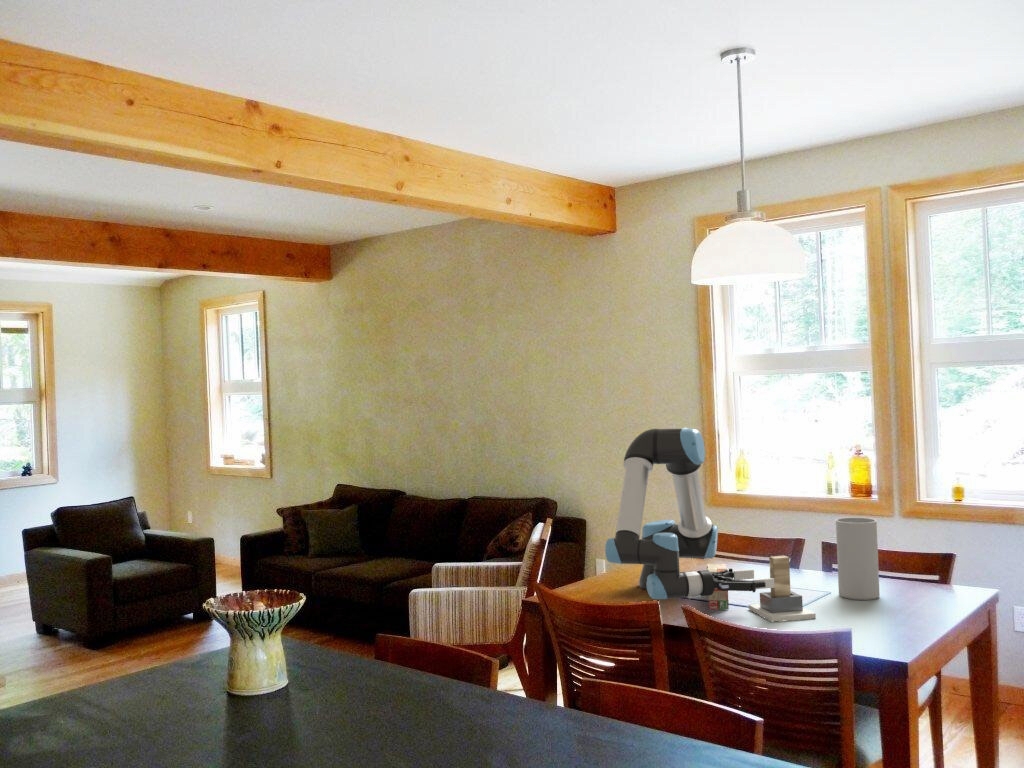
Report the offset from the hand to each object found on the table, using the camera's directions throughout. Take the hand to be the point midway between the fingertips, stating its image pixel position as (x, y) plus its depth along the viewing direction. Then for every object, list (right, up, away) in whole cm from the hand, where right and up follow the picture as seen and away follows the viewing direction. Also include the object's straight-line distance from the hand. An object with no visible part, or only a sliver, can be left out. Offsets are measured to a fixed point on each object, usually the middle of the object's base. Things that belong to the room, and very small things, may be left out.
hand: (763, 578), depth 271 cm
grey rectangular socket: (+6, -10, +1) cm, 11 cm away
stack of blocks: (-9, -12, +20) cm, 25 cm away
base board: (+6, -11, +1) cm, 13 cm away
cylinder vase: (+37, -10, +20) cm, 43 cm away
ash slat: (+6, -10, +1) cm, 11 cm away
